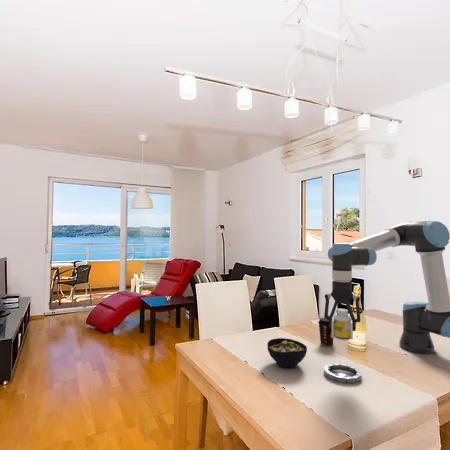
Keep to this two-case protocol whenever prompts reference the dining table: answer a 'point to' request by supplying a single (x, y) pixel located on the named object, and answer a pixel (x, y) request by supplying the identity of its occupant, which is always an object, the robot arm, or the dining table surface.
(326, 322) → the coffee cup
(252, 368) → the dining table surface
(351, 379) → the ring seat
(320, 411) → the dining table surface
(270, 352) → the bowl
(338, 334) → the pill bottle
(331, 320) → the robot arm
